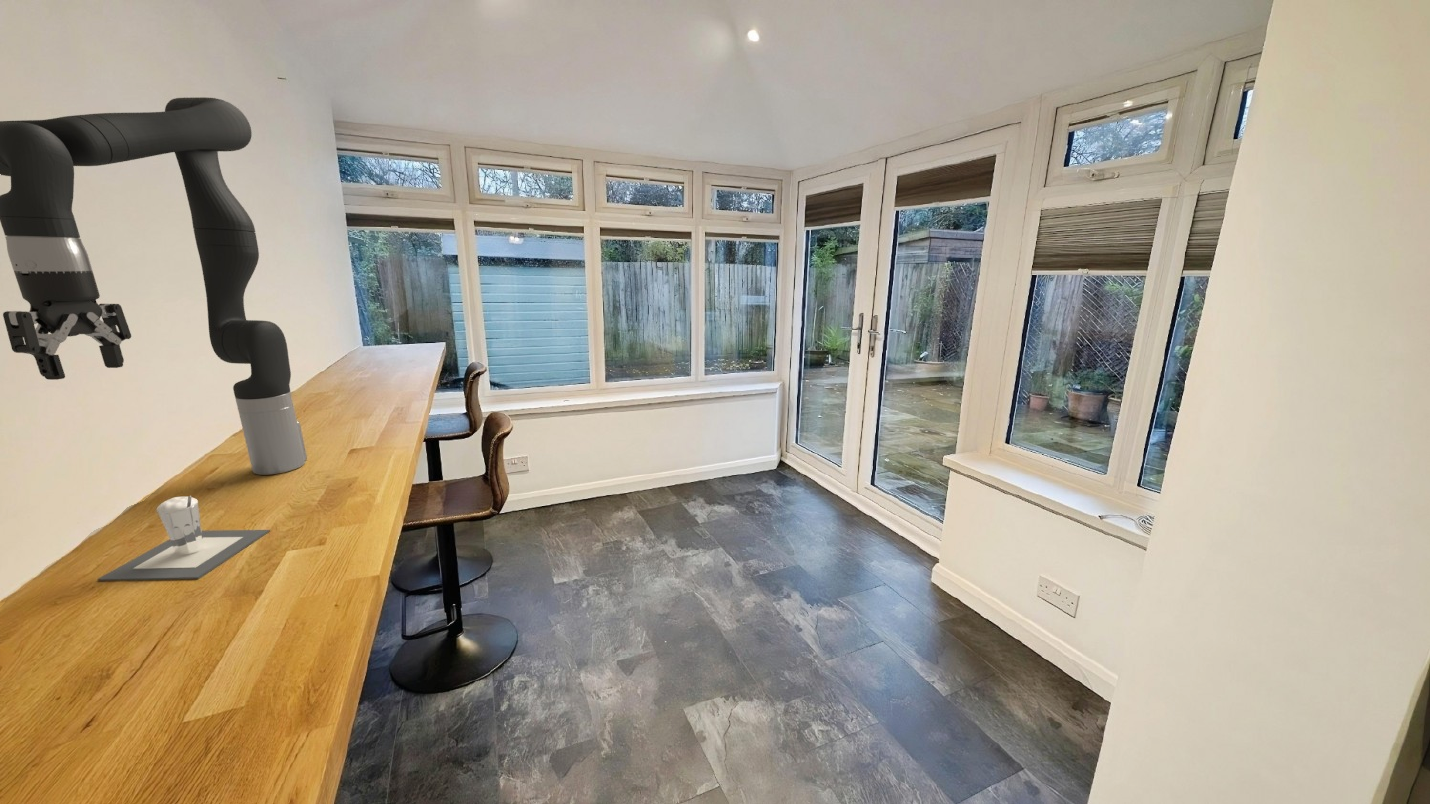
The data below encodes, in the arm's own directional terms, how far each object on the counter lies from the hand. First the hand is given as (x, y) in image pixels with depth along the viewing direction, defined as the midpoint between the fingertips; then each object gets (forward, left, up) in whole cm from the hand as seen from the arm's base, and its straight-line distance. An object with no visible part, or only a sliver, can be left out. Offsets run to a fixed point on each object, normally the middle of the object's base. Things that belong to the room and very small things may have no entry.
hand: (86, 372), depth 83 cm
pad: (+8, +16, -28) cm, 33 cm away
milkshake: (+8, +16, -28) cm, 33 cm away
